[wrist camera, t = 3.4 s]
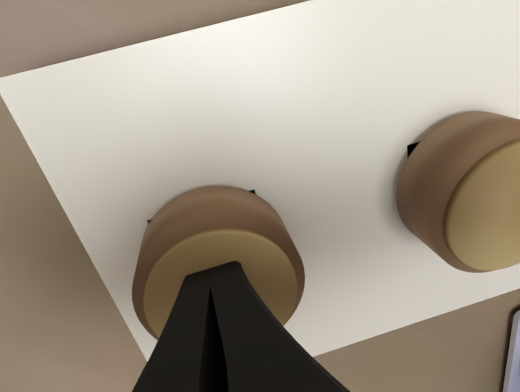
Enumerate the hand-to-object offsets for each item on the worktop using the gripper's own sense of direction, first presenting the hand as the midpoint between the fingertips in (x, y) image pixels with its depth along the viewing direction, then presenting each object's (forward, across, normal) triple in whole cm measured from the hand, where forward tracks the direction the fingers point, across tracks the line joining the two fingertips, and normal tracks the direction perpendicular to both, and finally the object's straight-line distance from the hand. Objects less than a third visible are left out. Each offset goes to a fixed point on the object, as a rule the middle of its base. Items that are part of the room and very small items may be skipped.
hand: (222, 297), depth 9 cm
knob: (+5, 0, 0) cm, 5 cm away
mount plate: (+5, -8, 0) cm, 9 cm away
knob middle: (+5, -8, 0) cm, 9 cm away
